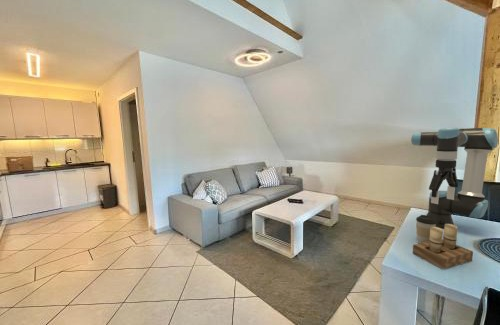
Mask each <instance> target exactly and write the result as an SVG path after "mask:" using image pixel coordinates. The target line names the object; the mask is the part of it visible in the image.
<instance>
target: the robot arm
mask: <svg viewBox="0 0 500 325" xmlns="http://www.w3.org/2000/svg"><path fill="white" fill-rule="evenodd" d="M410 142H411V144H412V145H413V146H419V147H420V146H421V147H423V146H424V147H427V146H428V147H429V146H432V147H436V152H435V155H436V156H435V158H436V160H435V164H434V165H435V168H438V169H437V170H436V169H435V170H434V171H433V176H432V178H431V181H430V184H429V186H428V190H429V191H431V192H430V193H429V197H428V209H427V210H428V211H427V213H426V214H425V215H426V216H429V217H432V218H434V220H436V223H437V224H436V226H435V227H438V228H441V229H443V230H444V226H445V224H452V225H455V223H454V219H453V216H452V214H456V215H461V216H464V217H465V216H466V217H469V218H474V219H481V218H482V217H484V216H485V214H486V211H487V210H488V206H489V200H487V199H486V198H485V195H484V193H483V187H484V182H485V181H484V180H485V174H486V168H487V162H488V154H489V153H491V152H493V149H496V148H497V147H498V145H499V144H498V143H499V137H498V132H497V130H496V129H495V128H494V127H476V128H474V127H473V128H472V127H471V128H458V127H448V128H446V127H445V128H439V129H438V131H433V132H432V131H424V132H421V131H420V132H419V131H418V132H414V133H413V134H412V135H411V139H410ZM458 148H463V150H464V152H466V159H465V165H464V172H463V177H462V178H463V179H462V187H461V190H460V191H458V192H457V194H455V193H456V192H455V191H456V188H458V187H459V182H458V176H457V172H456V170H457V169H456V168H457V159H458V150H459V149H458ZM444 181H446V183H447V185H448V186H447V188H446V189H447V190H440V187H441V186H442V184H443V182H444Z"/></svg>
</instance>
